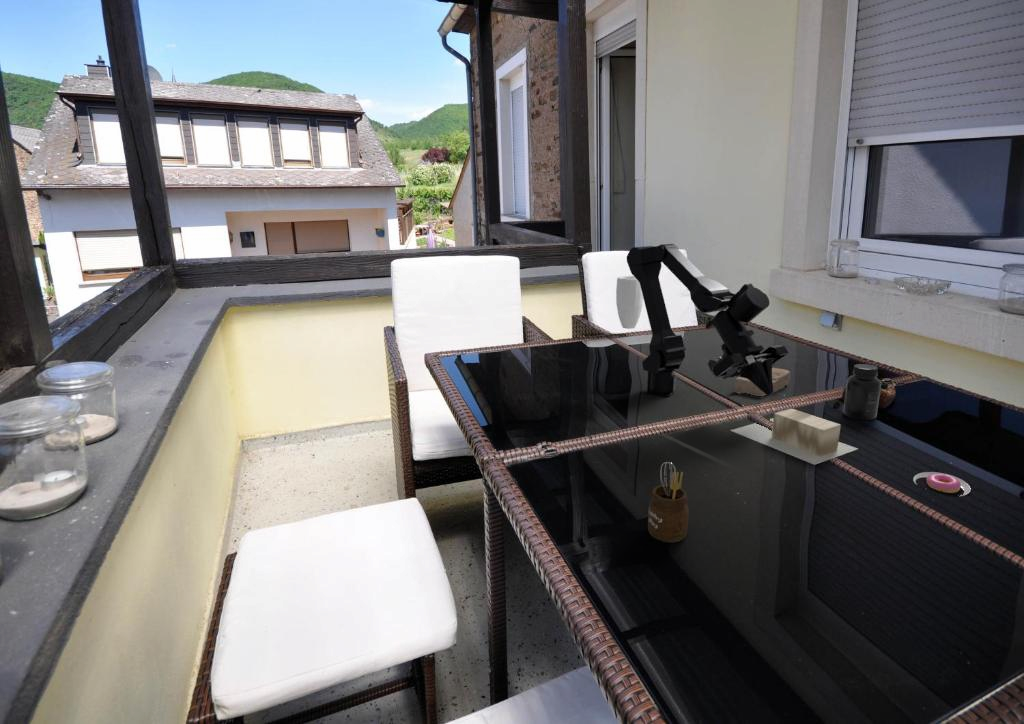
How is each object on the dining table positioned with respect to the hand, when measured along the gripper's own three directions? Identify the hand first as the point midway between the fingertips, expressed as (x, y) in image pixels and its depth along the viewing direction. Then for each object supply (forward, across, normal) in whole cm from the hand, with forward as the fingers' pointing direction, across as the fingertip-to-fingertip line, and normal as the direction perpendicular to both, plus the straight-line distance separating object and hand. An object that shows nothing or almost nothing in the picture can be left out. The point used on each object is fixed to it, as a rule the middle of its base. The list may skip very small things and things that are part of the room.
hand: (770, 394), depth 126 cm
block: (+6, 0, -1) cm, 6 cm away
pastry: (+6, -40, -7) cm, 41 cm away
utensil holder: (+20, +47, +7) cm, 51 cm away
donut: (+29, -7, +16) cm, 34 cm away
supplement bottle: (+10, -27, -3) cm, 29 cm away
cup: (-55, -37, -70) cm, 97 cm away
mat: (+10, 0, -2) cm, 11 cm away
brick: (-7, -24, -21) cm, 33 cm away
